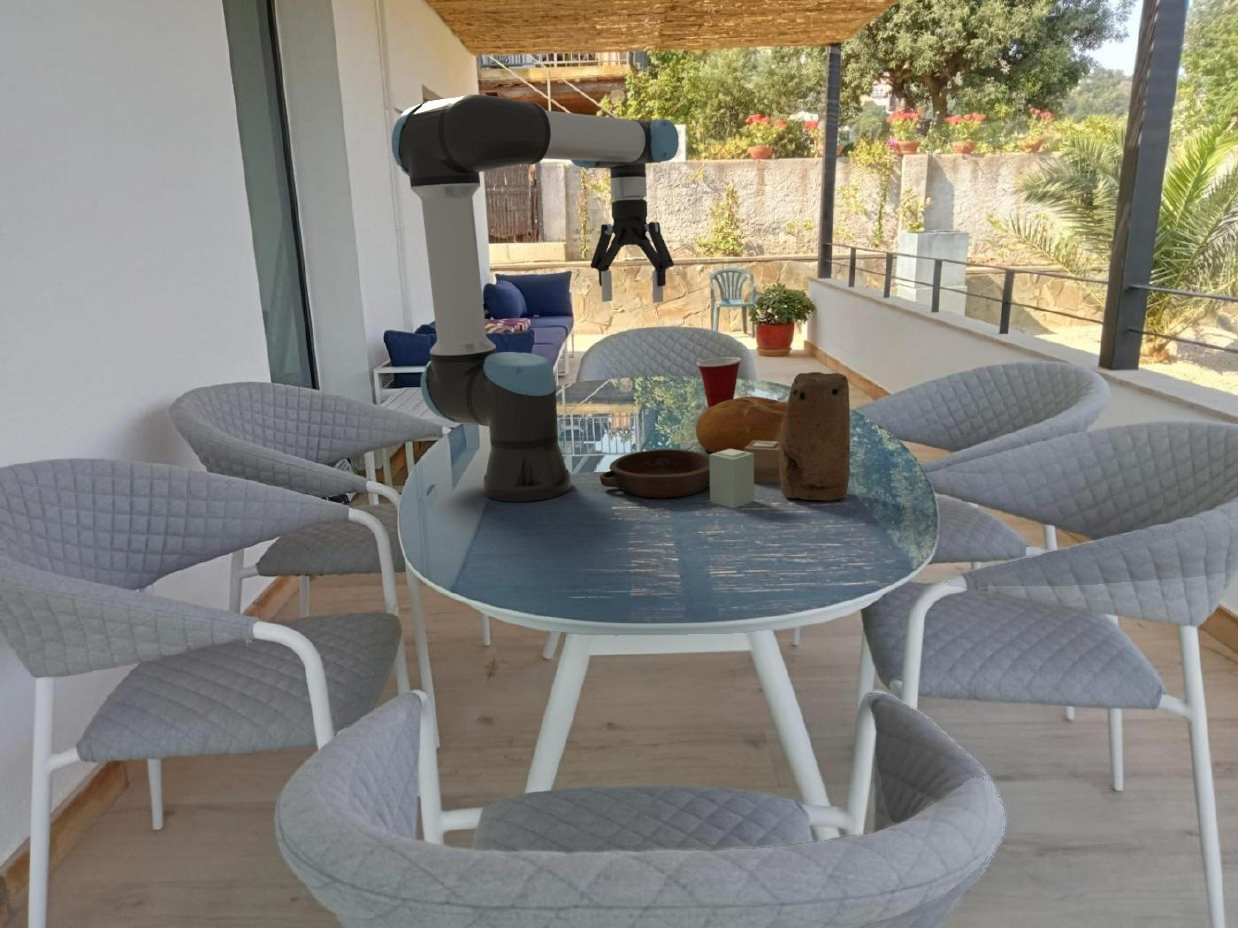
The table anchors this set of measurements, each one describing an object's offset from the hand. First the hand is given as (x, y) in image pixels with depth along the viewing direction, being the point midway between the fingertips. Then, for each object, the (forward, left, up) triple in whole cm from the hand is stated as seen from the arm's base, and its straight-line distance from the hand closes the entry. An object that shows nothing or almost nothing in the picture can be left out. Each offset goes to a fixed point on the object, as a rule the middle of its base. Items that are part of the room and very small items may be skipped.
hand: (632, 302), depth 189 cm
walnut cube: (-21, -44, -28) cm, 56 cm away
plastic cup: (+28, -5, -28) cm, 40 cm away
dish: (-35, -32, -29) cm, 55 cm away
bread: (-3, -32, -28) cm, 43 cm away
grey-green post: (-36, -46, -28) cm, 65 cm away
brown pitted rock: (-27, -56, -28) cm, 68 cm away
